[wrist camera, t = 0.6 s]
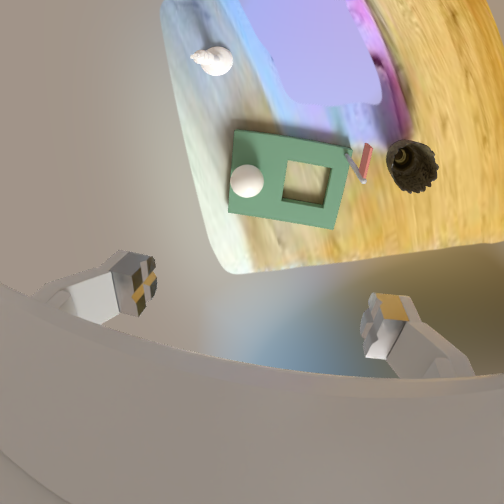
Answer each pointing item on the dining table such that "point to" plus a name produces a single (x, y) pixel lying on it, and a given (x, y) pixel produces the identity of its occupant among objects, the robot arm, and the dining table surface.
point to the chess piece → (214, 60)
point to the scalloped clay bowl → (412, 165)
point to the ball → (247, 181)
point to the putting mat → (274, 169)
